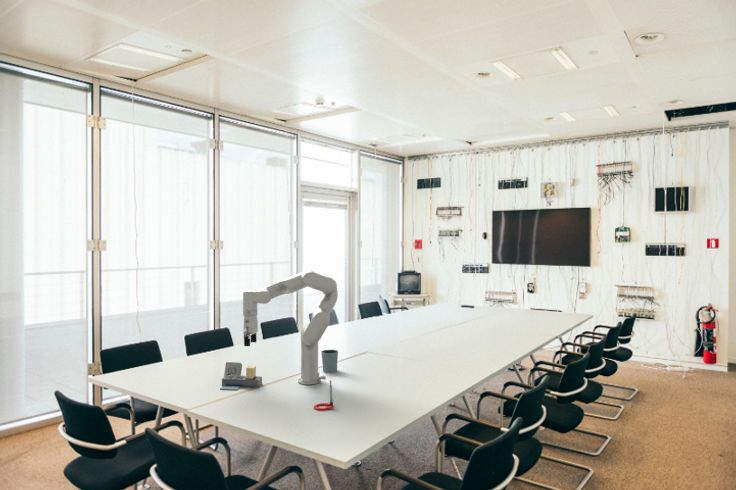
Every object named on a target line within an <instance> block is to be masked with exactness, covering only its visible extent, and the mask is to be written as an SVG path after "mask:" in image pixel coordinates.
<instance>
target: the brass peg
mask: <svg viewBox="0 0 736 490" xmlns="http://www.w3.org/2000/svg"><path fill="white" fill-rule="evenodd" d="M245 368H246V369H245V373H246V375H245V376H246V379H253V380H254V379H255V378H256V376H257V366H256V365H255V366H254V365H248V366H247V367H245Z"/></svg>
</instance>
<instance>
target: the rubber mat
mask: <svg viewBox="0 0 736 490" xmlns="http://www.w3.org/2000/svg"><path fill="white" fill-rule="evenodd" d="M240 388H241V387H240V386H221V387H220V391H222V390H223V391H238V390H239V389H240Z"/></svg>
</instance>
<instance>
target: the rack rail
mask: <svg viewBox="0 0 736 490" xmlns="http://www.w3.org/2000/svg"><path fill="white" fill-rule="evenodd" d="M262 384H263V376H260V375H259V376H257V375H256V378H255V379H254V380H253V379H246V375H241V376H231V375H227V376H225V377H224V376H223V377H222V378H221V387H223V386H240V388H257V389H258V388H259V387H260V386H261V385H262Z"/></svg>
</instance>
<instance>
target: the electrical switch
mask: <svg viewBox="0 0 736 490" xmlns="http://www.w3.org/2000/svg"><path fill="white" fill-rule="evenodd" d="M224 366H225V367H224V368H225V369H224V374H223V378H224V377H225V376H227V375H231V376H242V369H243V364H242V363H241V362H236V361H235V362H234V361H226V362H225V365H224Z"/></svg>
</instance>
